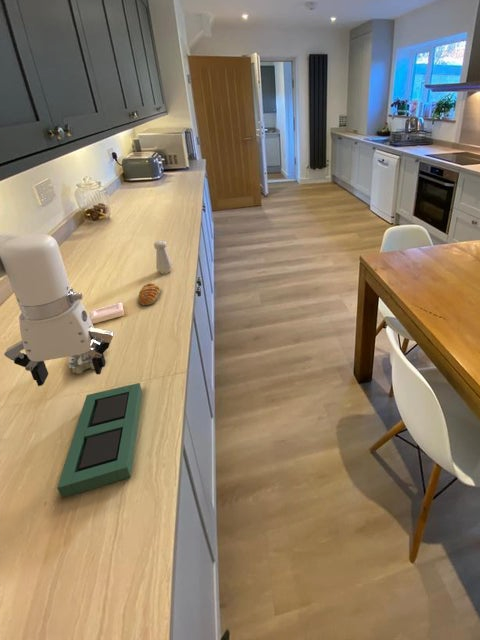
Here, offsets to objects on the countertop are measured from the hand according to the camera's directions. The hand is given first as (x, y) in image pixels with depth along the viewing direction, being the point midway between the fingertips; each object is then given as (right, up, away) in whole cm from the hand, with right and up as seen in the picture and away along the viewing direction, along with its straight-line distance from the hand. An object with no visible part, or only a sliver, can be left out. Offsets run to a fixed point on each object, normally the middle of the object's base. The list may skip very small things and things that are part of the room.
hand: (72, 374), depth 64 cm
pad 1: (+4, -12, +7) cm, 15 cm away
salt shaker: (-9, +14, +66) cm, 68 cm away
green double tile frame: (+5, -14, +3) cm, 15 cm away
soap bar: (-17, +2, +40) cm, 43 cm away
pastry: (-7, +6, +49) cm, 50 cm away
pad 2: (+7, -16, -1) cm, 17 cm away
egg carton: (-12, -5, +23) cm, 26 cm away
